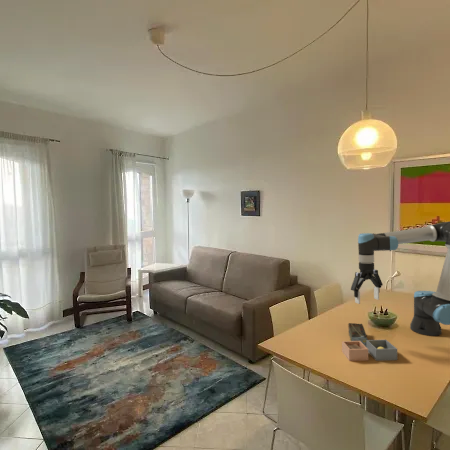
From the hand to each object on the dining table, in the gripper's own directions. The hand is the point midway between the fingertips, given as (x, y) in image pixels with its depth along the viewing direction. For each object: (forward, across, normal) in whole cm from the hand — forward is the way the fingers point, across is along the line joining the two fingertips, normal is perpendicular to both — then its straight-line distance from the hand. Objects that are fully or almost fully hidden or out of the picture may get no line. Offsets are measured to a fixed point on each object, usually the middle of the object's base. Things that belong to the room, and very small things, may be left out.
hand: (367, 301), depth 163 cm
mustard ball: (+22, +8, +15) cm, 27 cm away
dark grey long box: (+23, +4, -3) cm, 23 cm away
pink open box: (+22, +20, +10) cm, 31 cm away
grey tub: (+22, +8, +15) cm, 28 cm away
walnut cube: (+21, +20, +10) cm, 31 cm away
